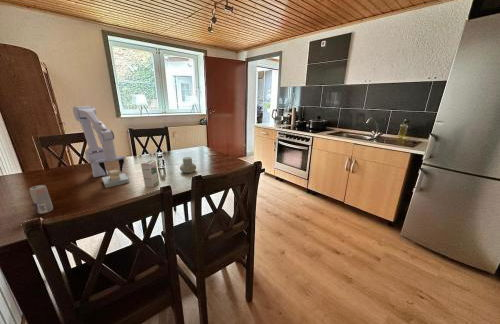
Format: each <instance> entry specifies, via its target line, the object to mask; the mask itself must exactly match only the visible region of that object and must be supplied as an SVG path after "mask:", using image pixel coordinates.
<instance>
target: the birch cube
mask: <svg viewBox="0 0 500 324" xmlns="http://www.w3.org/2000/svg"><path fill="white" fill-rule="evenodd" d="M119 174H120V170H118V169H113V170H108V175H109V176H110V178H111V180H114V179H119V178H120V175H119Z"/></svg>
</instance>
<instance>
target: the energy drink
mask: <svg viewBox="0 0 500 324" xmlns="http://www.w3.org/2000/svg"><path fill="white" fill-rule="evenodd" d="M29 194H30V197H31V200H32V202H33V205H34V208H35V211H36V212H37V214H39V215H42V214H43V215H45V214H47V213H48V214H49V213H50V212H51V211H54V210H53V209H54V205H53V203H52V199H51V196H50V194H49V191H48V188H47V186H46V185H45V184H38V185H33V186H30V187H29Z"/></svg>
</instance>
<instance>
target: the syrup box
mask: <svg viewBox="0 0 500 324" xmlns="http://www.w3.org/2000/svg"><path fill="white" fill-rule="evenodd" d="M140 166H141V167H140V168H141V172H142V177H143V182H144V186H145V187H150V188H154V187H156V186H157V185H158V184H160V178H159V173H158V165H157V161H156V160H153V159H152V160H146V161H143V162H141V163H140Z"/></svg>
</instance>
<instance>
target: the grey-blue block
mask: <svg viewBox="0 0 500 324" xmlns="http://www.w3.org/2000/svg"><path fill="white" fill-rule="evenodd" d="M119 175H120V178H119V179H114V180H111V178H110V175H106V176H101V180H102V182H103V185H104V187H105V189H106V188H107V189H108V188H111V187H115V186H119V185H125V184H127V183H128V184H129V183H130V181H129V178H128V176H127V175H126V173H119Z"/></svg>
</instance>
